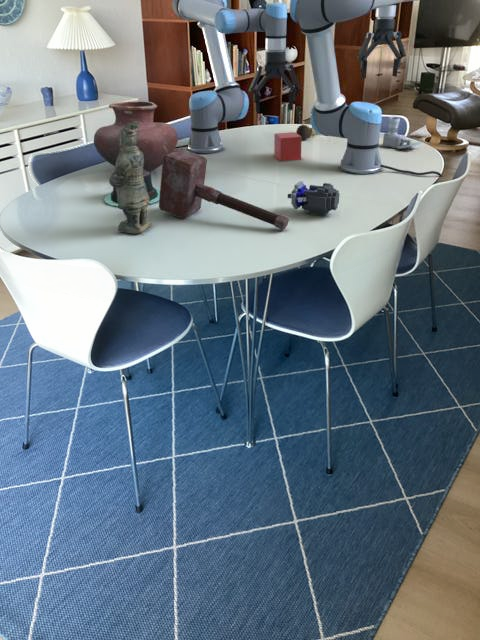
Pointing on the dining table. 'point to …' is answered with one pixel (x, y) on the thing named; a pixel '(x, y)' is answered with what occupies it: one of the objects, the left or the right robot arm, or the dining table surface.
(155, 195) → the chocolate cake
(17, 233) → the dining table surface
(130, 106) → the clay pot
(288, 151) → the block
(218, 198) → the sledgehammer
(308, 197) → the toy
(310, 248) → the dining table surface
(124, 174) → the statue
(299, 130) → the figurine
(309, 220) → the dining table surface
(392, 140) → the grey boot
